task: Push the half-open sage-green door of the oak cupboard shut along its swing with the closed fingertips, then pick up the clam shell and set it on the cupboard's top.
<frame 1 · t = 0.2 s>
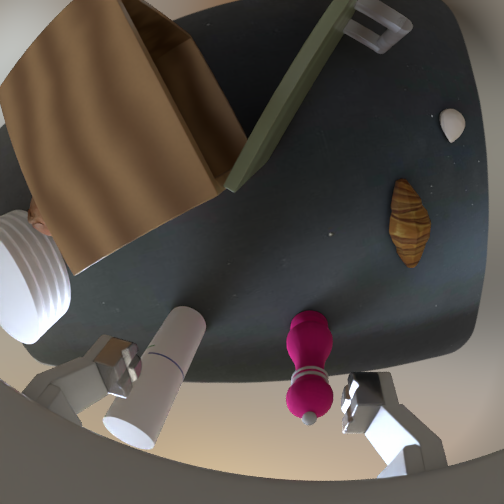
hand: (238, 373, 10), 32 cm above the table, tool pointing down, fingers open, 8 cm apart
onion: (68, 202, 45), on the table
croissant: (405, 221, 38), on the table
pepper mill: (309, 324, 47), on the table
clam shell: (447, 125, 32), on the table
cupboard door: (331, 89, 24), point 11 cm above the table, hinge at 55.0°
cylindrical container: (187, 322, 51), on the table
cupboard: (175, 121, 38), on the table
plate stack: (31, 266, 54), on the table
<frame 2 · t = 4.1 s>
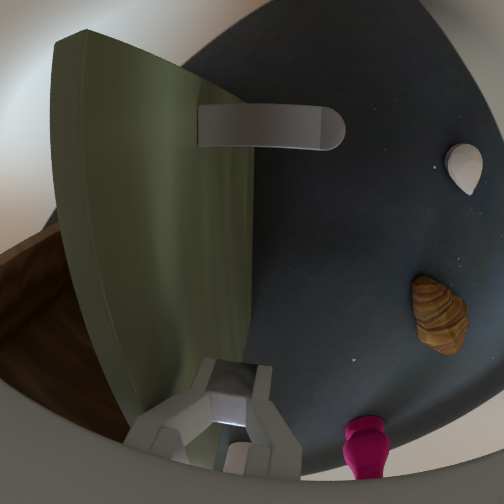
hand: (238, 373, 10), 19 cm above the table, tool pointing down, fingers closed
croissant: (436, 311, 28), on the table
pepper mill: (364, 424, 38), on the table
clam shell: (458, 167, 22), on the table
cupboard door: (263, 287, 17), point 11 cm above the table, hinge at 53.0°, touching gripper
cylindrical container: (248, 449, 44), on the table
cupboard: (135, 308, 34), on the table
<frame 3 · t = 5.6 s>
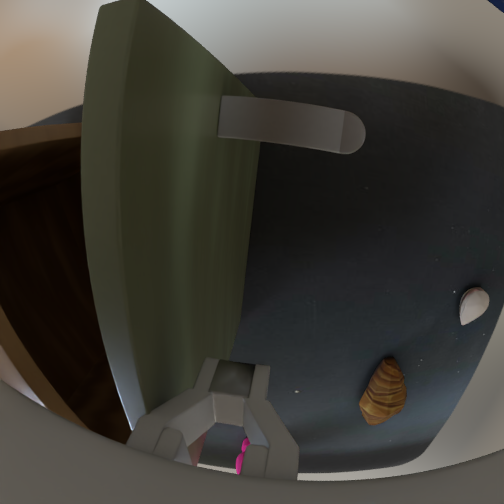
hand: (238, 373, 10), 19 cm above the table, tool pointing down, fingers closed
croissant: (380, 387, 34), on the table
clam shell: (466, 301, 27), on the table
cupboard door: (262, 285, 17), point 11 cm above the table, hinge at 23.0°, touching gripper
cupboard: (132, 246, 30), on the table
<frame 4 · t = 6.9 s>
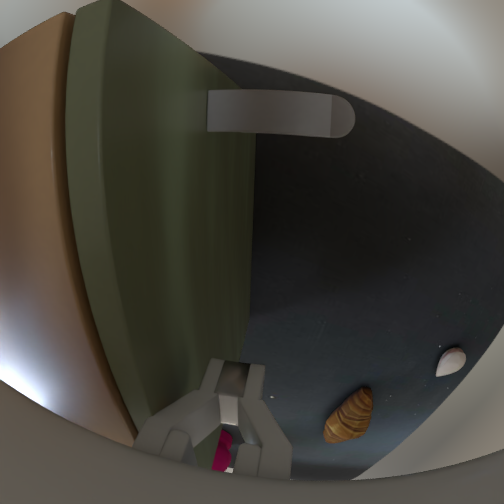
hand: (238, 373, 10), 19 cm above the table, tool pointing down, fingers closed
croissant: (346, 410, 36), on the table
pepper mill: (215, 434, 43), on the table
clam shell: (445, 357, 31), on the table
cupboard door: (266, 280, 17), point 11 cm above the table, hinge at -0.2°, touching gripper
cupboard: (162, 216, 28), on the table
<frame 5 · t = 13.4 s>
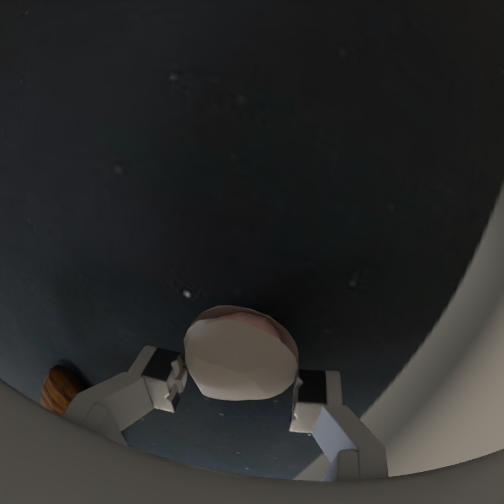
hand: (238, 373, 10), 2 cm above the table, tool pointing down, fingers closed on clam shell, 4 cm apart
croissant: (90, 413, 17), on the table
clam shell: (239, 341, 12), on the table, touching gripper
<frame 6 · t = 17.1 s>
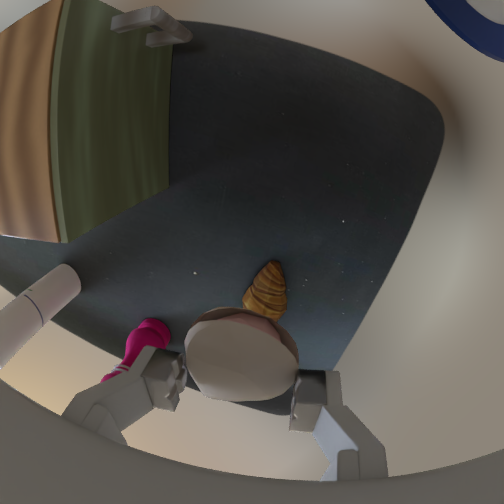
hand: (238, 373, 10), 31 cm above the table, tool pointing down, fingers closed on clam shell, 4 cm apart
croissant: (266, 295, 45), on the table
pepper mill: (156, 330, 52), on the table
clam shell: (239, 342, 12), point 29 cm above the table, touching gripper
cupboard door: (145, 106, 26), point 11 cm above the table, hinge at -0.1°
cylindrical container: (69, 279, 51), on the table
cupboard: (116, 117, 37), on the table
when the fingers open (24 cm above the table, at t = 20.9 s): clam shell stays where it is, resting on cupboard.
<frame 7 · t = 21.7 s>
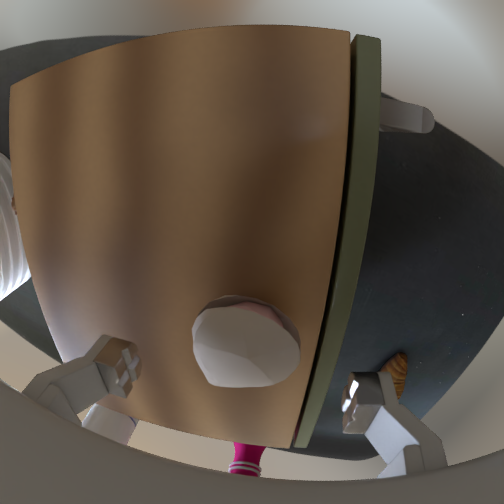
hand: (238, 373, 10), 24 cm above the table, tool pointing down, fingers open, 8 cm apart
croissant: (382, 378, 40), on the table
pepper mill: (256, 410, 47), on the table
clam shell: (244, 331, 12), point 22 cm above the table, touching cupboard
cupboard door: (355, 236, 21), point 11 cm above the table, hinge at -0.1°
cylindrical container: (145, 362, 46), on the table
cupboard: (235, 193, 32), on the table
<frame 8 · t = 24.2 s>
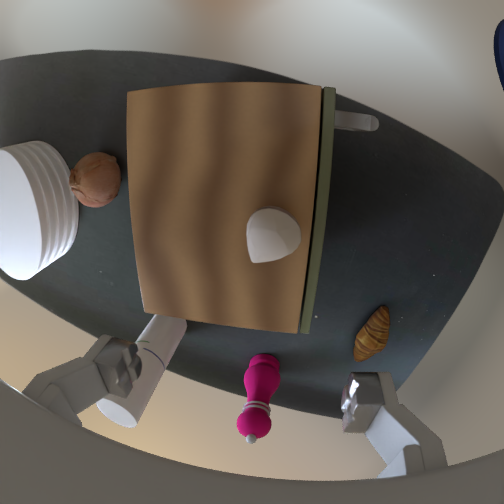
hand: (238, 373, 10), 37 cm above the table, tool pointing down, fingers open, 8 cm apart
onion: (110, 174, 47), on the table
croissant: (370, 330, 52), on the table
pepper mill: (264, 363, 59), on the table
clam shell: (271, 232, 24), point 22 cm above the table, touching cupboard
cupboard door: (335, 198, 33), point 11 cm above the table, hinge at -0.1°
cylindrical container: (171, 321, 58), on the table
cupboard: (252, 176, 44), on the table
plate stack: (38, 201, 52), on the table
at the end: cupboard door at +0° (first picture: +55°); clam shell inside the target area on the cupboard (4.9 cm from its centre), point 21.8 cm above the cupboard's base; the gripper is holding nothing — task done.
